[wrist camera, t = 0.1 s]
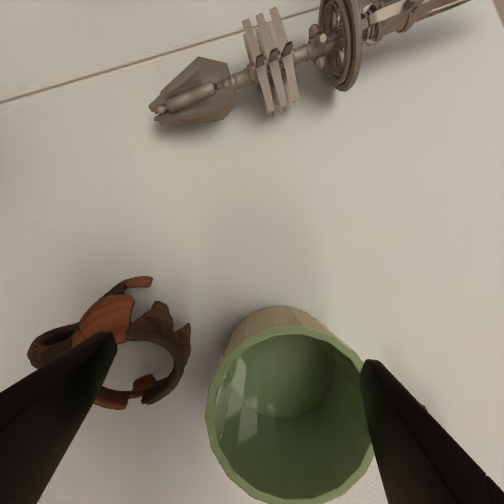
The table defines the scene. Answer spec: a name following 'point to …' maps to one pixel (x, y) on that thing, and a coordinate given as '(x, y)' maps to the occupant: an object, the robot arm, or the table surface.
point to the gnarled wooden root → (121, 341)
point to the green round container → (288, 410)
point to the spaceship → (289, 58)
